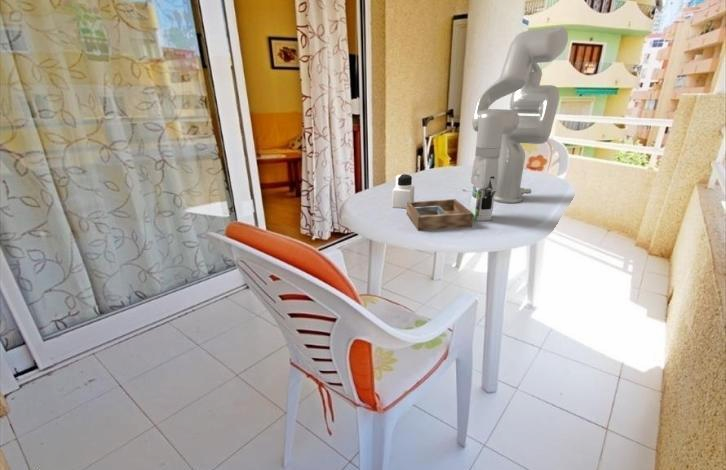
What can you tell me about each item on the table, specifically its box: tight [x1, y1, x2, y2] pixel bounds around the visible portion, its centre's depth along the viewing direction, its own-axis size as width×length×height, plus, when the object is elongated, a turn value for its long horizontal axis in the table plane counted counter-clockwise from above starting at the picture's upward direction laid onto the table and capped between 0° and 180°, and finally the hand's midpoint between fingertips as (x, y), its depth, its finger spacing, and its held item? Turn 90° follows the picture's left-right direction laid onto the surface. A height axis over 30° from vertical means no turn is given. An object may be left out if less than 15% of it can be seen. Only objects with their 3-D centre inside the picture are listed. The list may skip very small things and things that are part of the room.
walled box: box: [406, 198, 474, 232], centre depth 116 cm, size 18×16×4 cm
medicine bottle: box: [391, 173, 415, 209], centre depth 130 cm, size 7×7×12 cm
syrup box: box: [469, 184, 495, 222], centre depth 114 cm, size 6×6×14 cm
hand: (481, 205), depth 115 cm, fingers closed on syrup box, 5 cm apart
